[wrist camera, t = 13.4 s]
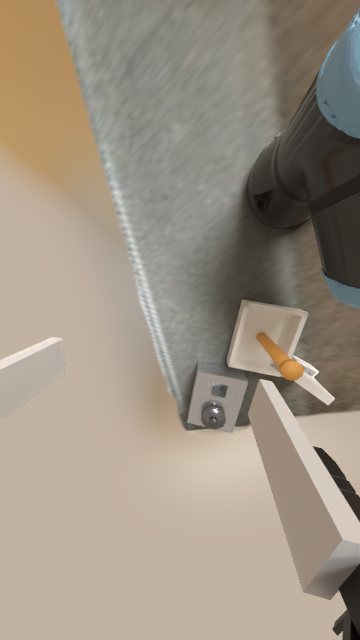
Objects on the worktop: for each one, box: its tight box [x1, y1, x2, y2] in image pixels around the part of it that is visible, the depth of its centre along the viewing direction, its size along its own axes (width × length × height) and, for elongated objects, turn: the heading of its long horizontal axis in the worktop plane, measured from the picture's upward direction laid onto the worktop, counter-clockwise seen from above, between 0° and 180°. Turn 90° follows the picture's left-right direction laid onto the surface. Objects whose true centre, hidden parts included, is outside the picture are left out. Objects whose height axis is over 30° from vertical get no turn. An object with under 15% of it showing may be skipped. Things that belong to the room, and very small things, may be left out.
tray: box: [226, 299, 309, 378], centre depth 40 cm, size 16×13×4 cm
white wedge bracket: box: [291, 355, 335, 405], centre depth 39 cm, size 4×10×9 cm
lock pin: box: [256, 332, 304, 381], centre depth 34 cm, size 3×3×15 cm
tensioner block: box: [187, 361, 248, 433], centre depth 44 cm, size 16×12×8 cm
